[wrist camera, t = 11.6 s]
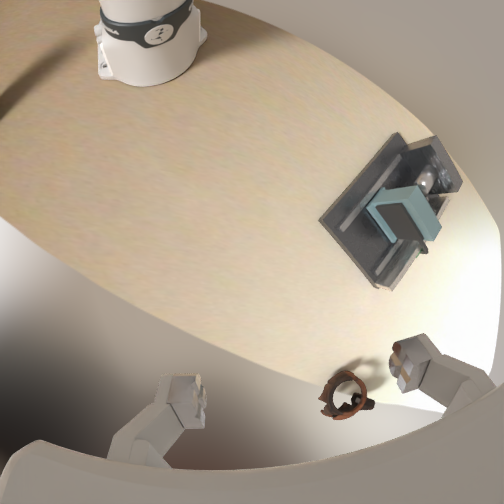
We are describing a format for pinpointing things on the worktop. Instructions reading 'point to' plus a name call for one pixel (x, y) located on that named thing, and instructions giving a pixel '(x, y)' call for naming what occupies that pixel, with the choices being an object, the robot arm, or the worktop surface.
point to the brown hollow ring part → (346, 409)
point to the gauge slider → (405, 215)
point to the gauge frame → (391, 177)
